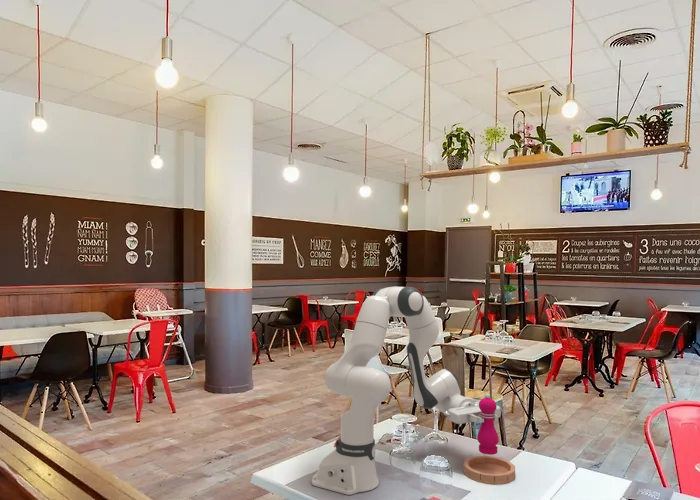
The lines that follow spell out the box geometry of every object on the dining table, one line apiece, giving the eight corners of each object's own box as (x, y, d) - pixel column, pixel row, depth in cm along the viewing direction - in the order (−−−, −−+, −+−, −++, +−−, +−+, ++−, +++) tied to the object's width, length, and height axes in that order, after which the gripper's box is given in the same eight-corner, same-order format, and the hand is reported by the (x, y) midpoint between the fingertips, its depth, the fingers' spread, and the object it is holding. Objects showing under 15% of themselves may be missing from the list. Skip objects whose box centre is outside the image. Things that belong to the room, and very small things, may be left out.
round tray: (461, 480, 165) (461, 471, 165) (467, 461, 181) (467, 453, 181) (514, 487, 159) (514, 478, 159) (515, 467, 175) (515, 459, 175)
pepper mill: (501, 455, 167) (500, 396, 168) (480, 455, 167) (479, 396, 168) (495, 447, 174) (495, 391, 175) (475, 447, 174) (474, 391, 175)
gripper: (441, 404, 178) (465, 414, 166) (485, 397, 187) (511, 406, 175) (441, 421, 178) (465, 432, 166) (485, 414, 187) (511, 424, 174)
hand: (489, 419), depth 170 cm, fingers closed on pepper mill, 5 cm apart
